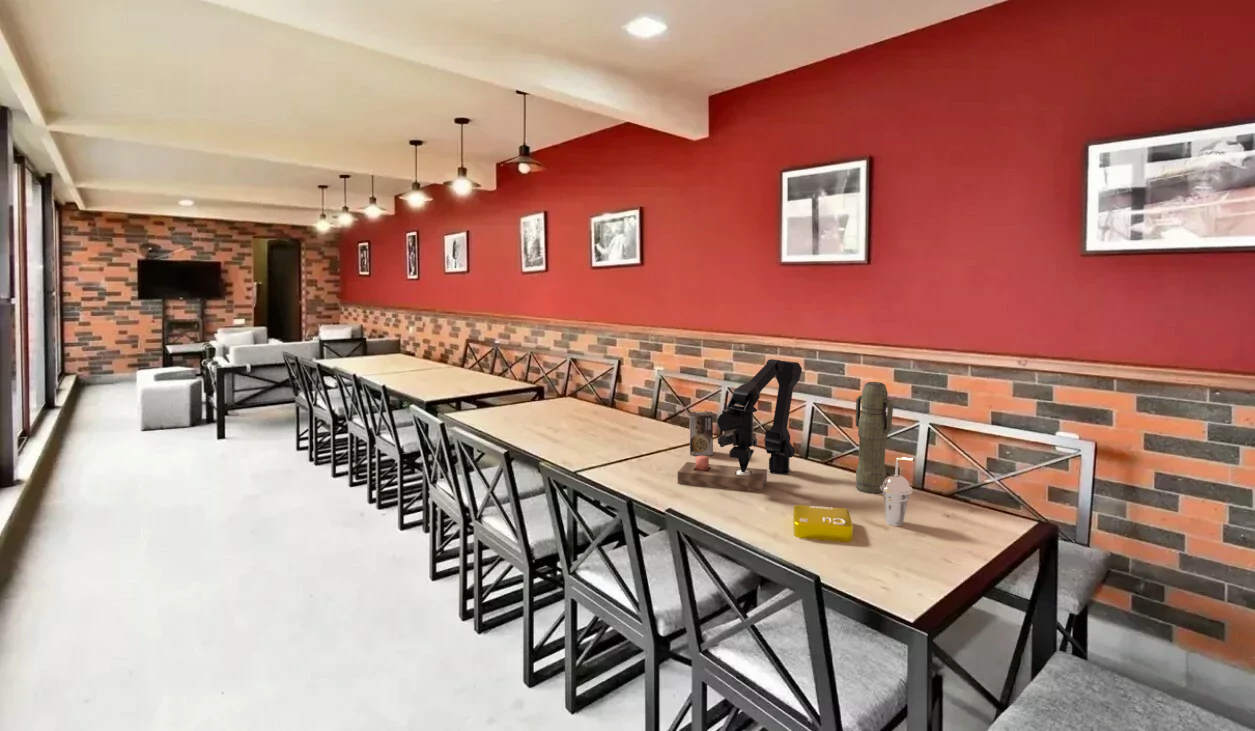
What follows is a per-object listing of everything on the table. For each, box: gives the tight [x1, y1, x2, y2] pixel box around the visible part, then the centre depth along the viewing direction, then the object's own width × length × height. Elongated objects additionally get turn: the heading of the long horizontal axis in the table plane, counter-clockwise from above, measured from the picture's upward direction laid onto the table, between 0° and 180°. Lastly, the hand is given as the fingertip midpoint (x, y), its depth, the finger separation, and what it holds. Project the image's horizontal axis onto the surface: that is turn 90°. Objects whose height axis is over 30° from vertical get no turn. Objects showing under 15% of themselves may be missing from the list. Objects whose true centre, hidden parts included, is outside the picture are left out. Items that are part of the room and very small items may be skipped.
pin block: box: [677, 461, 768, 493], centre depth 214 cm, size 28×12×4 cm, turn 70°
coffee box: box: [689, 411, 714, 456], centre depth 248 cm, size 9×6×16 cm
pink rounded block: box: [695, 455, 710, 471], centre depth 215 cm, size 4×4×4 cm
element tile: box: [792, 504, 854, 543], centre depth 173 cm, size 15×15×5 cm
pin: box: [736, 470, 750, 476], centre depth 211 cm, size 4×4×4 cm
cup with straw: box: [880, 456, 915, 527], centre depth 176 cm, size 8×9×20 cm
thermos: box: [855, 381, 894, 495], centre depth 203 cm, size 9×12×35 cm
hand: (743, 471), depth 211 cm, fingers closed, pressing on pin
